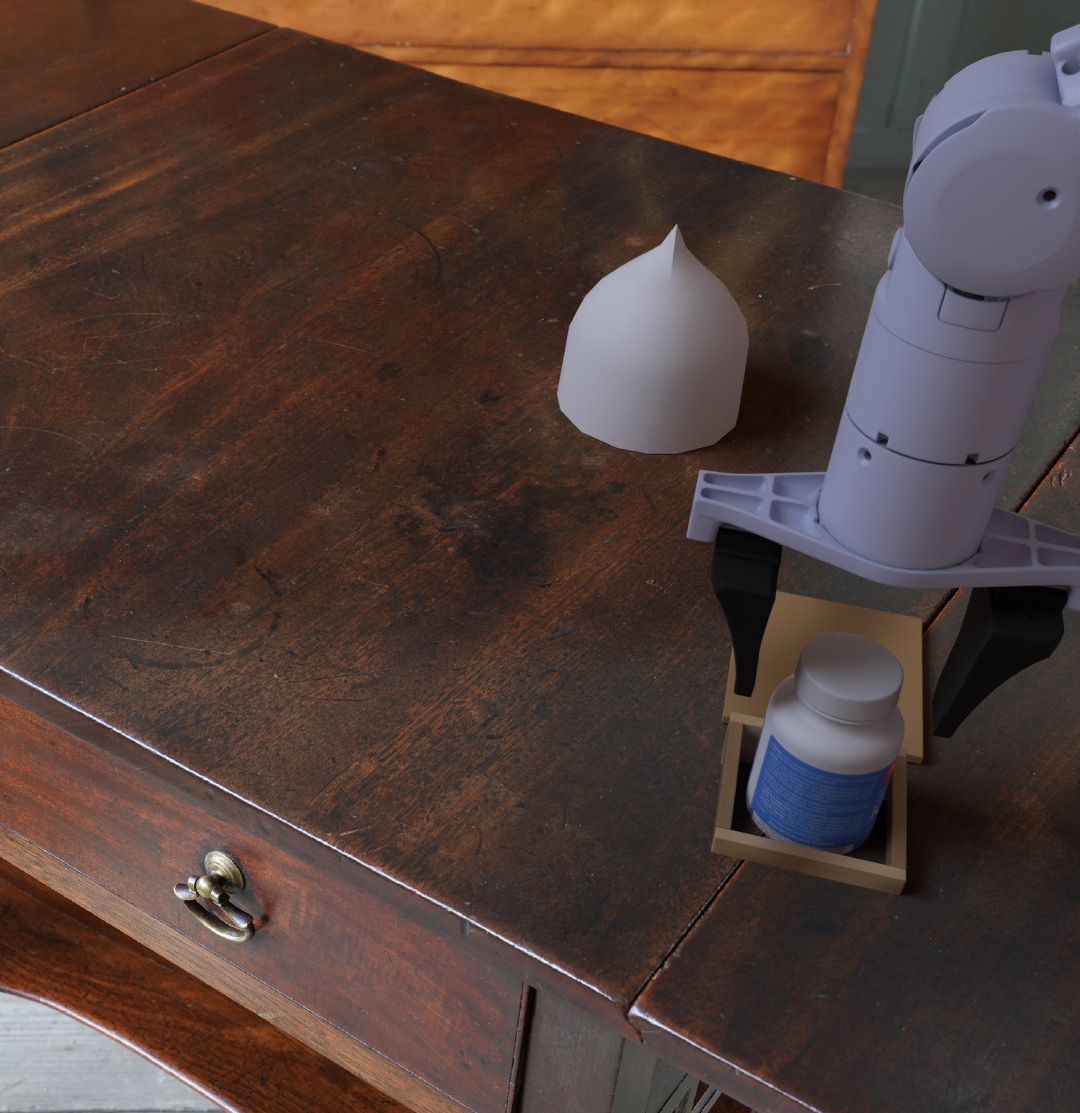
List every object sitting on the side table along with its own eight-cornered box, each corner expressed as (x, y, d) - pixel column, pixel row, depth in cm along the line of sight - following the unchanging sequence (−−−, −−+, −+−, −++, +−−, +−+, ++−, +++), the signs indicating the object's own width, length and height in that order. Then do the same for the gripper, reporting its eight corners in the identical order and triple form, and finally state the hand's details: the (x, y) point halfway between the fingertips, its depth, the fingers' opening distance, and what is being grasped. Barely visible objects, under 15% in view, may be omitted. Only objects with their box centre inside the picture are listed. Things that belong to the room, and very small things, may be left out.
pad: (919, 625, 74) (922, 618, 74) (920, 765, 67) (923, 757, 67) (739, 591, 76) (741, 583, 76) (721, 722, 69) (723, 715, 69)
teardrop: (647, 476, 84) (679, 290, 77) (520, 390, 91) (537, 212, 83) (777, 414, 89) (819, 234, 82) (647, 337, 96) (674, 165, 88)
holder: (893, 785, 66) (907, 747, 64) (891, 918, 60) (906, 880, 59) (722, 749, 68) (731, 710, 66) (704, 875, 62) (714, 836, 60)
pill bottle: (880, 880, 62) (942, 717, 56) (752, 878, 62) (800, 715, 56) (848, 783, 66) (902, 621, 60) (728, 780, 66) (769, 619, 60)
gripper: (1144, 392, 52) (1026, 670, 60) (727, 328, 55) (672, 601, 63) (1170, 508, 46) (1037, 795, 55) (708, 429, 50) (650, 712, 58)
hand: (841, 699), depth 59 cm, fingers open, 7 cm apart
